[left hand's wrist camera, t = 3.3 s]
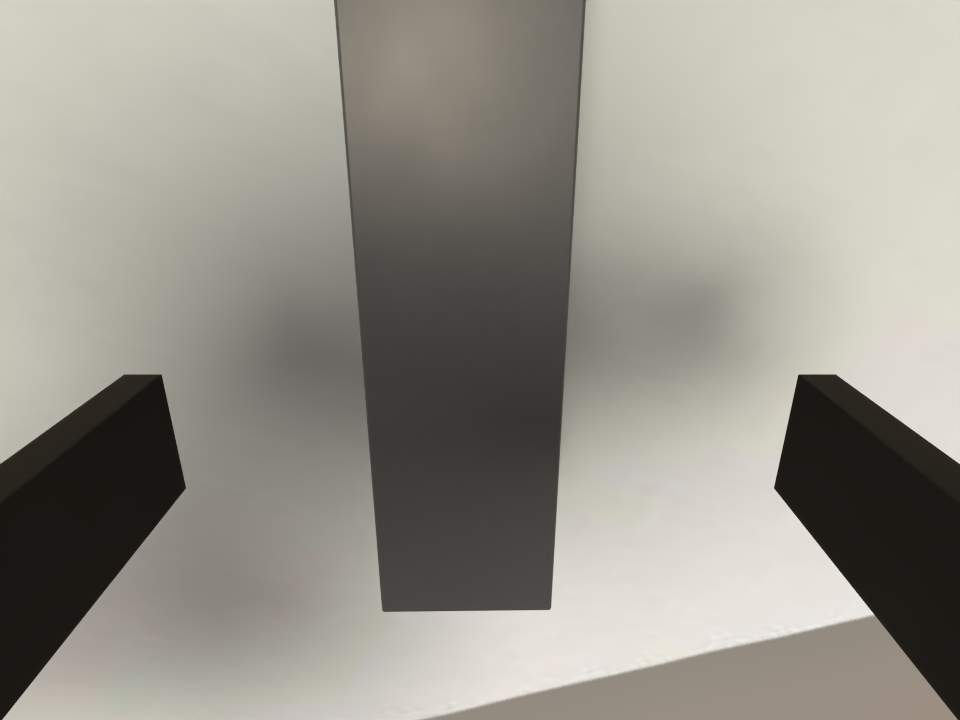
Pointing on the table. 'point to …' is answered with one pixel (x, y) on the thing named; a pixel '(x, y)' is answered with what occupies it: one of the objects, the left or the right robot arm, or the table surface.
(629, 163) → the table surface
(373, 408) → the post
